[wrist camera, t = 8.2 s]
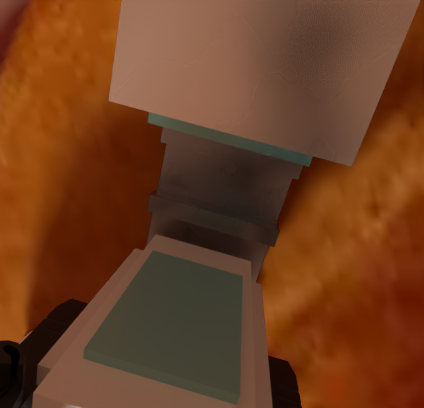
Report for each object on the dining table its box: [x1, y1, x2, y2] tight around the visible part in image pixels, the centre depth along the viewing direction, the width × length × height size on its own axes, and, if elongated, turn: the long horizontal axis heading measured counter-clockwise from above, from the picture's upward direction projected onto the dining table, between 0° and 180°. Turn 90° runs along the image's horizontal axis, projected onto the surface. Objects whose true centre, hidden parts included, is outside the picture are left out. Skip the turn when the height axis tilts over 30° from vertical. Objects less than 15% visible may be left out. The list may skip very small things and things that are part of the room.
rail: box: [109, 0, 420, 283], centre depth 11 cm, size 20×6×10 cm, turn 166°
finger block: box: [32, 234, 256, 408], centre depth 10 cm, size 5×4×8 cm
